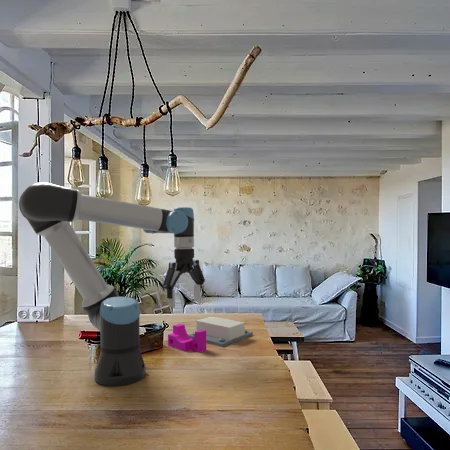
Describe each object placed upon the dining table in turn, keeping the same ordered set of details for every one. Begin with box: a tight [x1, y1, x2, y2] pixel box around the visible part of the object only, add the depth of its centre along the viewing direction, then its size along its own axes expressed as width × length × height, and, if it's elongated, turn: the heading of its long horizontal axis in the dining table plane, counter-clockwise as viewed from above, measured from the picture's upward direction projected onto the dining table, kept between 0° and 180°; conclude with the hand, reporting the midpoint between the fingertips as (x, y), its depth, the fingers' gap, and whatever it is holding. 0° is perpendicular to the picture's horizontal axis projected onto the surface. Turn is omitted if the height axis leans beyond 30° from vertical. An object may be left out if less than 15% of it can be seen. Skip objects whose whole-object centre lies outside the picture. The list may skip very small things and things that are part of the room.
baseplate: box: [188, 316, 254, 348], centre depth 156 cm, size 20×19×6 cm
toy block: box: [167, 323, 207, 353], centre depth 142 cm, size 15×6×8 cm, turn 47°
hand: (184, 304), depth 141 cm, fingers open, 13 cm apart
